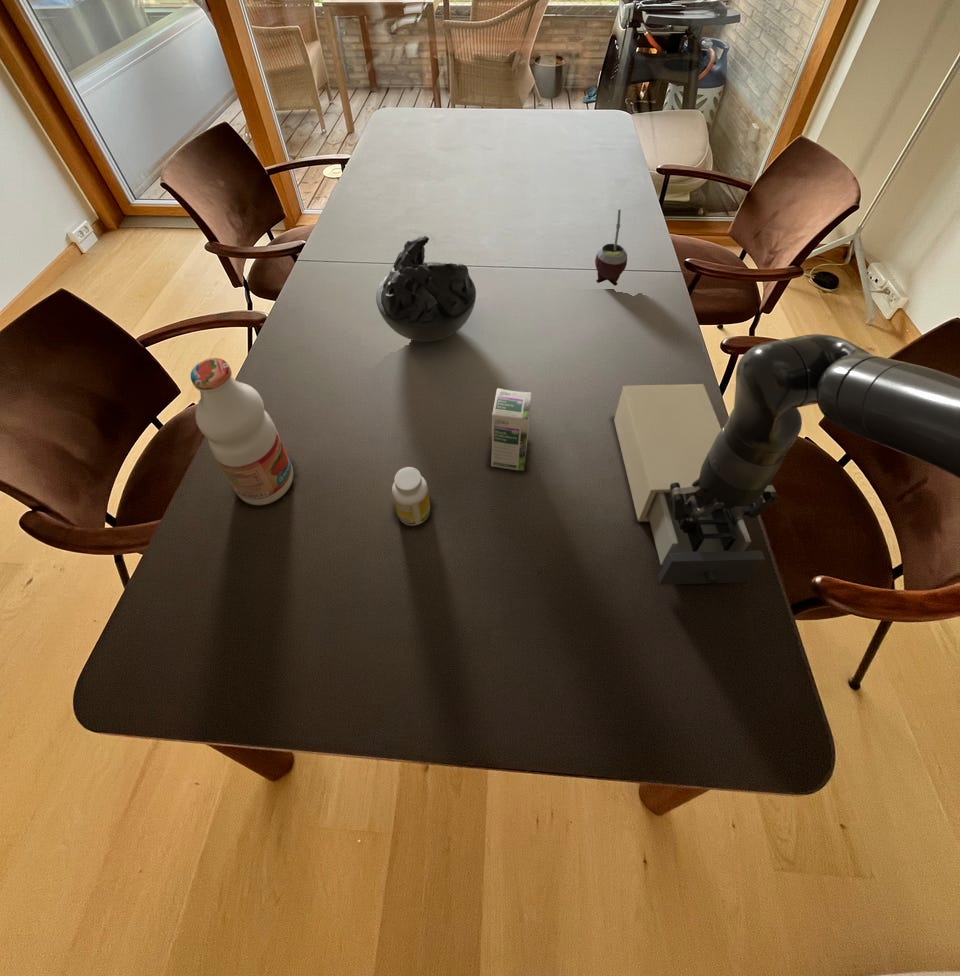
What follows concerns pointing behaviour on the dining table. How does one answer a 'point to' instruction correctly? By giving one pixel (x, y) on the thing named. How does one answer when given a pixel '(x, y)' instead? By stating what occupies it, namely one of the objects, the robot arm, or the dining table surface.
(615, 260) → the mate gourd
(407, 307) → the coal bowl
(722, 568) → the two-tone hollow box
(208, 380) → the fruit juice
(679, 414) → the cream drawer box
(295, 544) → the dining table surface
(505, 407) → the syrup box
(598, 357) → the dining table surface
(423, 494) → the supplement bottle
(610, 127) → the dining table surface
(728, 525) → the rack
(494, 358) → the dining table surface
